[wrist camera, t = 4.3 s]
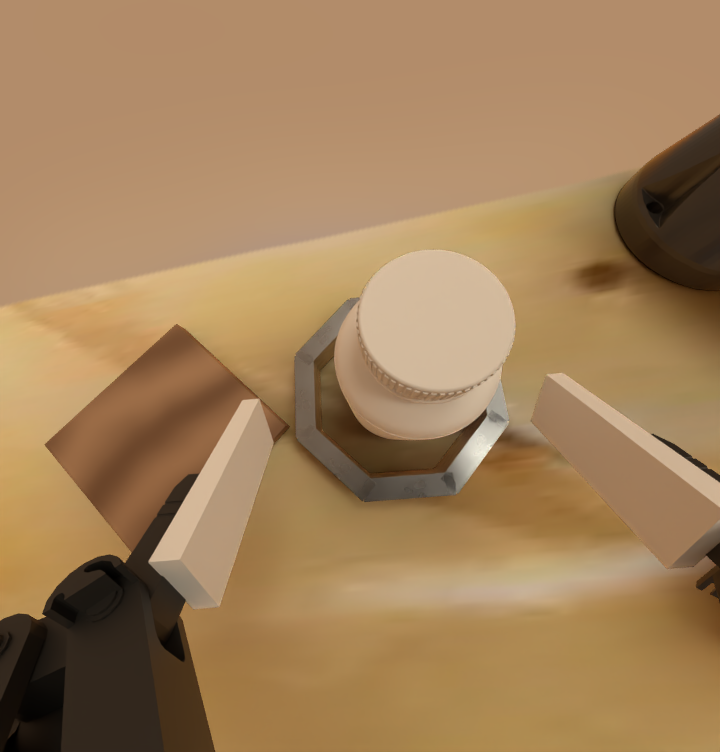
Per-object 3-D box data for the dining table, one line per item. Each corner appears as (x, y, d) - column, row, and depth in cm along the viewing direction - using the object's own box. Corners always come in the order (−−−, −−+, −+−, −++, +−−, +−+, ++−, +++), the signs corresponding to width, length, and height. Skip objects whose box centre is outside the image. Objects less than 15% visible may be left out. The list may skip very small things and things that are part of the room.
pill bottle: (329, 401, 23) (268, 332, 9) (385, 334, 25) (413, 178, 10) (403, 461, 22) (477, 498, 7) (457, 386, 23) (610, 293, 9)
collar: (520, 384, 23) (543, 375, 20) (409, 536, 20) (416, 551, 17) (381, 282, 26) (383, 262, 23) (267, 403, 23) (252, 398, 20)
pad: (289, 426, 23) (285, 425, 21) (162, 567, 20) (150, 574, 19) (185, 329, 25) (176, 323, 24) (60, 444, 23) (44, 444, 22)
